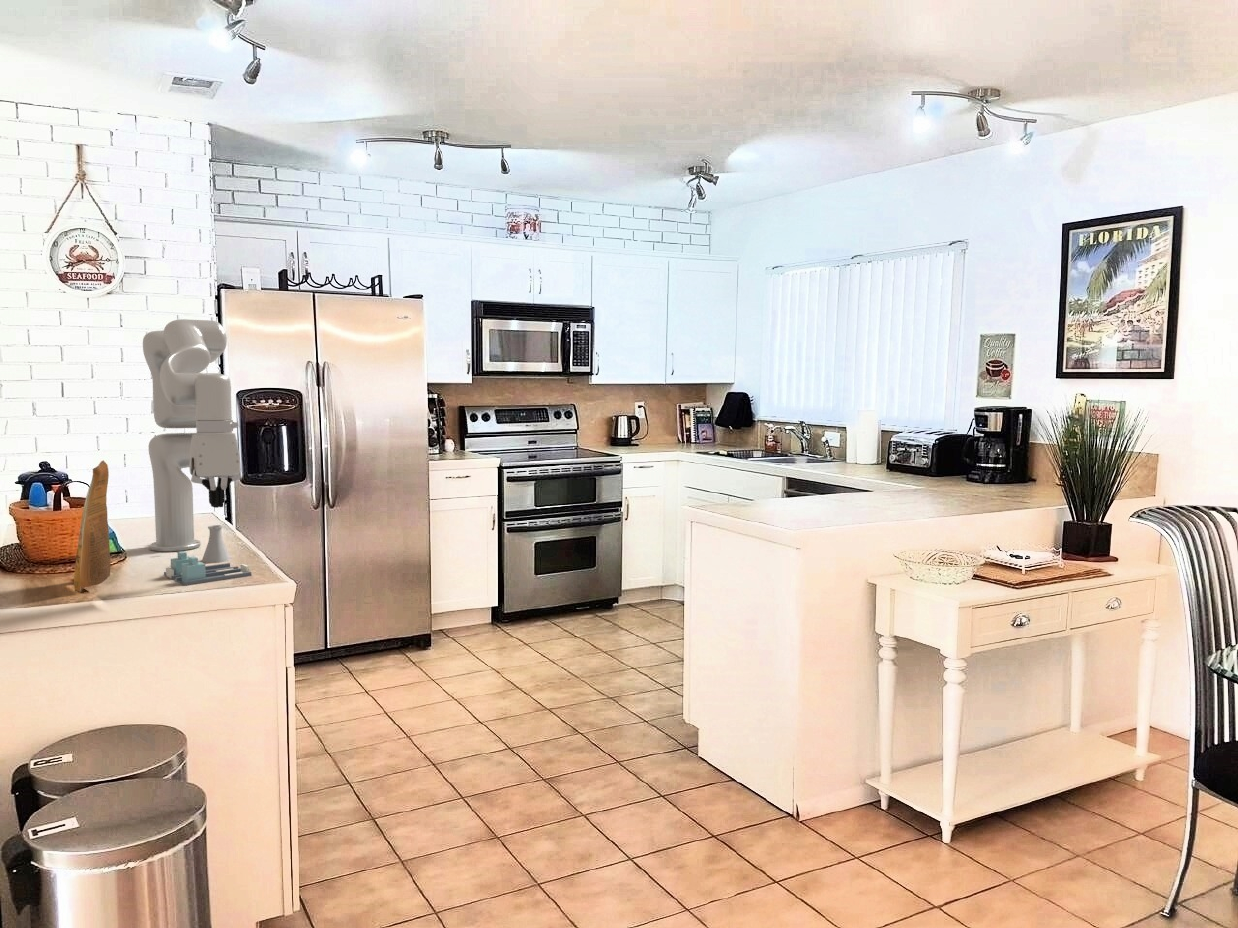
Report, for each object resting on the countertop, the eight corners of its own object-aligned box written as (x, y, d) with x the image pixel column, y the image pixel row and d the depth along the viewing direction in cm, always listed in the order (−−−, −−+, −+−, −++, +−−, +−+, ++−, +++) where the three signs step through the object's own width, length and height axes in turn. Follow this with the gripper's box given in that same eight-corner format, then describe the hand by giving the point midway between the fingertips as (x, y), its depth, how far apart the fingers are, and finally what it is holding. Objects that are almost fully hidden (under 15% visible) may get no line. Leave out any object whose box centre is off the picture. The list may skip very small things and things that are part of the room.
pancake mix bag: (123, 574, 214) (118, 459, 211) (101, 594, 196) (95, 467, 193) (91, 576, 212) (86, 459, 210) (66, 595, 194) (60, 468, 191)
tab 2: (181, 581, 204) (181, 557, 203) (200, 578, 207) (199, 555, 206) (187, 583, 202) (186, 559, 201) (205, 581, 204) (205, 557, 204)
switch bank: (163, 579, 210) (162, 566, 210) (227, 570, 221) (227, 557, 220) (185, 590, 200) (185, 577, 200) (252, 580, 210) (251, 567, 210)
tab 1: (171, 575, 209) (170, 552, 209) (189, 572, 212) (188, 550, 212) (176, 577, 207) (175, 554, 206) (194, 575, 210) (193, 552, 209)
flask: (220, 568, 223) (218, 529, 222) (194, 566, 224) (193, 527, 223) (238, 562, 230) (237, 524, 229) (213, 561, 231) (211, 522, 230)
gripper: (240, 426, 213) (242, 502, 215) (174, 428, 203) (177, 508, 204) (253, 427, 208) (255, 505, 210) (186, 429, 197) (189, 511, 199)
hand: (217, 506), depth 207 cm, fingers closed
